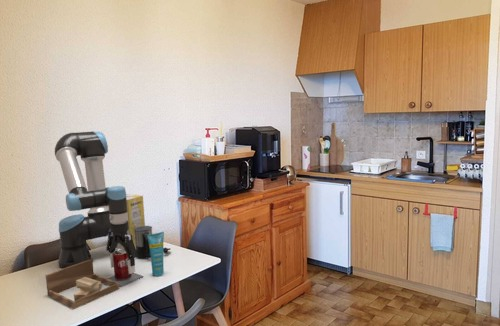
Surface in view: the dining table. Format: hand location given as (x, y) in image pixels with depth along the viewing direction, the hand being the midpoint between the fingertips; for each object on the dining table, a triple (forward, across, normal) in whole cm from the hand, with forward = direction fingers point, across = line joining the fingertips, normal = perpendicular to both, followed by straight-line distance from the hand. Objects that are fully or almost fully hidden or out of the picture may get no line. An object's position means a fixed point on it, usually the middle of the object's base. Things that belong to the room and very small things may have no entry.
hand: (122, 269), depth 173 cm
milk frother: (+5, -13, +27) cm, 30 cm away
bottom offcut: (+5, +1, -17) cm, 18 cm away
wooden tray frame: (+4, -3, -17) cm, 18 cm away
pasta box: (+5, -37, +29) cm, 47 cm away
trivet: (+4, 0, 0) cm, 4 cm away
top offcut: (+1, +1, -17) cm, 17 cm away
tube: (+5, +9, +12) cm, 16 cm away
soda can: (+4, 0, 0) cm, 4 cm away
